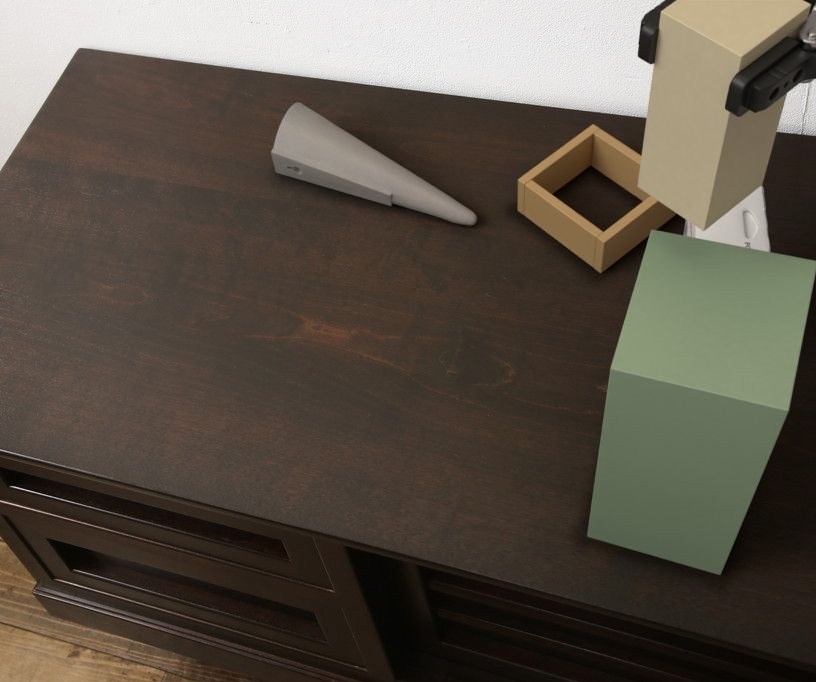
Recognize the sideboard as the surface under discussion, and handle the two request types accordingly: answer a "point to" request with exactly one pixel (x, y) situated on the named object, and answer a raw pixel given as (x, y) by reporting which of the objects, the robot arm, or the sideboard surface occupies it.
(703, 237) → the ink box
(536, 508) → the sideboard surface
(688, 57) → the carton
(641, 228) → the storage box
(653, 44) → the robot arm
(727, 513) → the stand
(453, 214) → the grey tapered cone
